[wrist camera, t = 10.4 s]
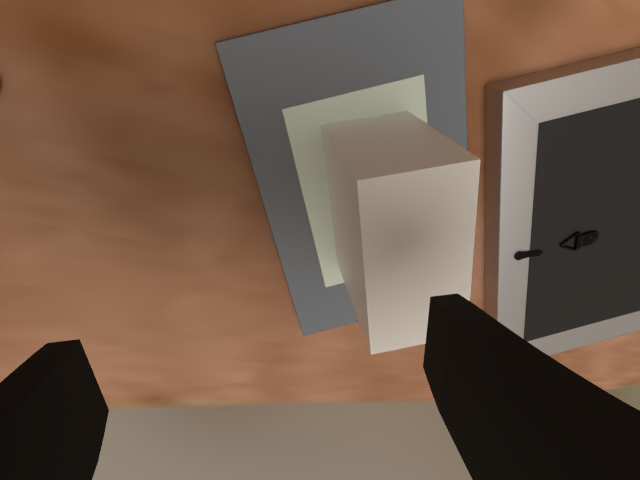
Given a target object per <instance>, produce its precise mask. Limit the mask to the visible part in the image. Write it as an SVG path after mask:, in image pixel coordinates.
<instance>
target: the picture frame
mask: <svg viewBox="0 0 640 480" xmlns="http://www.w3.org/2000/svg"><path fill="white" fill-rule="evenodd" d="M484 312H486V313H487V314H489V315H490V316H491V317H493V318H494V319H496V320H497V321H498V322H500V323H501V324H503V325H504V326H506V327H507V328H508V329H510V330H511V331H513V332H514V333H516V334H517V335H518V336H520V337H521V338H523V339H524V340H526V341H527V342H529V343H530V344H532V345H533V346H535V347H536V348H538V349H539V350H540V351H542V352H544V353H545V354H547V355H548V356H549V355H553V354H556V353H560V352H564V351H567V350H571V349H575V348H578V347H582V346H586V345H589V344H593V343H597V342H600V341H604V340H608V339H611V338H615V337H618V336H622V335H626V334H629V333H633V332H637V331H640V47H638V48H634V49H630V50H626V51H622V52H617V53H613V54H609V55H605V56H601V57H597V58H593V59H589V60H585V61H580V62H576V63H572V64H568V65H564V66H560V67H556V68H552V69H547V70H543V71H539V72H535V73H531V74H527V75H523V76H519V77H514V78H510V79H506V80H502V81H498V82H494V83H490V84H486V85H485V179H484Z"/></svg>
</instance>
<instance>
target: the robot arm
mask: <svg viewBox="0 0 640 480" xmlns="http://www.w3.org/2000/svg"><path fill="white" fill-rule="evenodd" d="M423 368H424V371H425V374H426V376H427V379H428V382H429V385H430V388H431V391H432V394H433V397H434V399H435V402H436V405H437V407H438V410H439V412H440V414H441V416H442V418H443V420H444V423H445V425H446V427H447V429H448V431H449V433H450V435H451V437H452V439H453V441H454V443H455V445H456V447H457V449H458V451H459V453H460V455H461V457H462V459H463V461H464V463H465V465H466V467H467V469H468V471H469V473H470V475H471V477H472V479H473V480H640V411H639V410H637V409H635V408H634V407H632V406H630V405H628V404H626V403H625V402H623V401H621V400H619V399H618V398H616V397H614V396H612V395H611V394H609V393H607V392H606V391H604V390H602V389H601V388H599V387H597V386H596V385H594V384H593V383H591V382H589V381H588V380H586V379H584V378H583V377H581V376H579V375H578V374H576V373H574V372H573V371H571V370H570V369H568V368H567V367H565V366H563V365H562V364H560V363H559V362H557V361H556V360H554V359H553V358H551V357H550V356H548V355H547V354H545V353H544V352H542V351H540V350H539V349H538V348H536V347H535V346H533V345H532V344H530V343H529V342H527V341H526V340H524V339H523V338H521V337H520V336H518V335H517V334H516V333H514V332H513V331H511V330H510V329H508V328H507V327H506V326H504V325H503V324H501V323H500V322H498V321H497V320H496V319H494V318H493V317H491V316H490V315H489V314H487V313H486V312H484V311H483V310H481V309H480V308H479V307H477V306H476V305H474V304H473V303H471V302H470V301H468V300H467V299H465V298H464V297H462V296H461V295H459V294H458V293H457V294H449V295H440V296H432V297H430V305H429V315H428V325H427V334H426V344H425V354H424V363H423ZM108 412H109V410H108V407H107V405H106V402H105V400H104V397H103V395H102V393H101V390H100V388H99V385H98V383H97V380H96V378H95V376H94V373H93V371H92V368H91V366H90V364H89V361H88V359H87V356H86V354H85V351H84V349H83V347H82V344H81V342H80V339H79V340H70V341H62V342H54V343H47V344H46V345H44V346H43V347H42V348H41V349H39V350H38V351H37V352H36V353H34V354H33V355H32V356H31V357H30V358H28V359H27V360H26V361H25V362H24V363H23V364H21V365H20V366H19V367H18V368H17V369H16V370H14V371H13V372H12V373H11V374H10V375H9V376H8V377H6V378H5V379H4V380H3V381H2V382H1V383H0V480H92V478H93V475H94V471H95V469H96V466H97V463H98V458H99V454H100V450H101V446H102V441H103V437H104V432H105V427H106V422H107V416H108Z"/></svg>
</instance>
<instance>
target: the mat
mask: <svg viewBox="0 0 640 480" xmlns="http://www.w3.org/2000/svg"><path fill="white" fill-rule="evenodd" d="M215 44H216V47H217V51H218V54H219V57H220V61H221V64H222V67H223V71H224V74H225V77H226V81H227V84H228V87H229V91H230V94H231V97H232V101H233V104H234V107H235V111H236V114H237V117H238V121H239V124H240V127H241V130H242V134H243V137H244V140H245V144H246V147H247V150H248V154H249V157H250V160H251V164H252V167H253V170H254V174H255V177H256V180H257V184H258V187H259V190H260V194H261V197H262V200H263V204H264V207H265V210H266V214H267V217H268V220H269V223H270V227H271V230H272V233H273V237H274V240H275V243H276V247H277V250H278V253H279V257H280V260H281V263H282V267H283V270H284V273H285V277H286V280H287V283H288V287H289V290H290V293H291V297H292V300H293V303H294V307H295V310H296V313H297V317H298V320H299V323H300V326H301V330H302V333H303V336H305V335H309V334H313V333H316V332H320V331H324V330H328V329H331V328H335V327H339V326H343V325H346V324H350V323H354V322H357V321H358V318H357V316H356V313H355V310H354V307H353V305H352V302H351V299H350V297H349V294H348V291H347V288H346V286H345V283H344V280H343V277H342V275H341V272H340V269H339V266H338V264H337V257H336V248H335V240H334V231H333V222H332V214H331V205H330V197H329V188H328V179H327V171H326V162H325V154H324V145H323V136H322V128H321V125H323V124H329V123H335V122H341V121H347V120H353V119H360V118H366V117H372V116H378V115H384V114H391V113H397V112H403V111H409V112H410V113H412V114H413V115H415V116H416V117H418V118H419V119H421V120H422V121H424V122H425V123H427V124H428V125H430V126H431V127H433V128H434V129H436V130H437V131H439V132H440V133H442V134H443V135H445V136H446V137H448V138H449V139H451V140H452V141H454V142H455V143H457V144H458V145H460V146H461V147H463V148H464V149H466V150H467V119H466V79H465V39H464V0H389V1H385V2H380V3H376V4H372V5H368V6H364V7H360V8H355V9H351V10H347V11H343V12H339V13H334V14H330V15H326V16H322V17H318V18H314V19H309V20H305V21H301V22H297V23H293V24H289V25H284V26H280V27H276V28H272V29H268V30H264V31H259V32H255V33H251V34H247V35H243V36H239V37H234V38H230V39H226V40H222V41H218V42H216V43H215Z"/></svg>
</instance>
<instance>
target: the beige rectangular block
mask: <svg viewBox="0 0 640 480" xmlns="http://www.w3.org/2000/svg"><path fill="white" fill-rule="evenodd" d="M321 128H322V136H323V145H324V154H325V162H326V171H327V179H328V188H329V197H330V205H331V214H332V222H333V231H334V240H335V248H336V257H337V264H338V266H339V269H340V272H341V275H342V277H343V280H344V283H345V286H346V288H347V291H348V294H349V297H350V299H351V302H352V305H353V307H354V310H355V313H356V316H357V318H358V321H359V324H360V327H361V329H362V332H363V335H364V338H365V340H366V343H367V346H368V349H369V351H370V354H371V355H372V354H377V353H382V352H387V351H392V350H396V349H401V348H406V347H411V346H416V345H420V344H425V343H426V334H427V325H428V315H429V305H430V297H432V296H440V295H449V294H457V293H458V294H459V295H461V296H462V297H464V298H465V299H467V300H468V301H470V292H471V279H472V265H473V252H474V239H475V226H476V213H477V199H478V186H479V173H480V160H481V159H479V158H478V157H476V156H475V155H473V154H472V153H470V152H469V151H467V150H466V149H464V148H463V147H461V146H460V145H458V144H457V143H455V142H454V141H452V140H451V139H449V138H448V137H446V136H445V135H443V134H442V133H440V132H439V131H437V130H436V129H434V128H433V127H431V126H430V125H428V124H427V123H425V122H424V121H422V120H421V119H419V118H418V117H416V116H415V115H413V114H412V113H410V112H409V111H403V112H397V113H391V114H384V115H378V116H372V117H366V118H360V119H353V120H347V121H341V122H335V123H329V124H323V125H321Z"/></svg>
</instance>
